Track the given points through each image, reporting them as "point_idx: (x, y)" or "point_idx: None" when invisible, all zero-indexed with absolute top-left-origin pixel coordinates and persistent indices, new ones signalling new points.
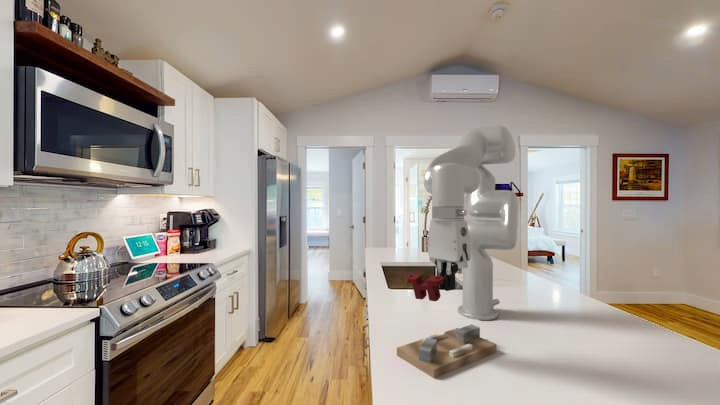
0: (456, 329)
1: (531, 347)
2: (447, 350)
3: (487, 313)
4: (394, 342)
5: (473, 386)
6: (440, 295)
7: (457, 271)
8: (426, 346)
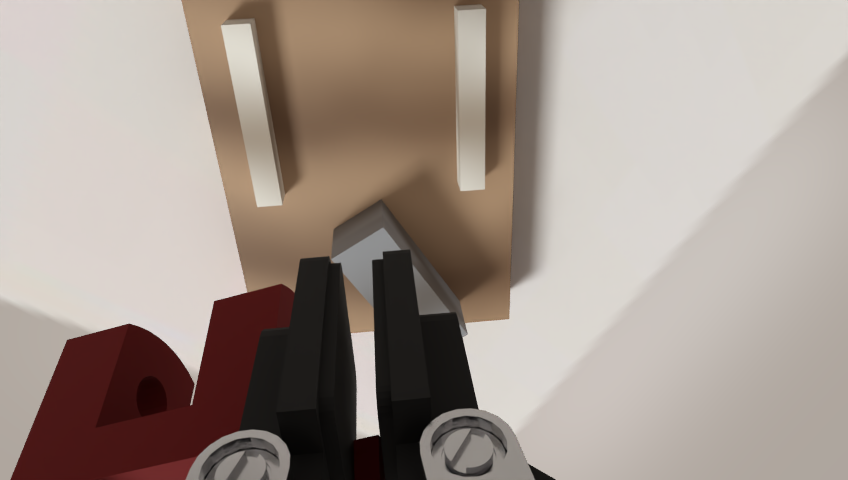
0: None
1: None
2: (410, 149)
3: None
4: (115, 251)
5: (629, 202)
6: (280, 286)
7: (515, 443)
8: None
